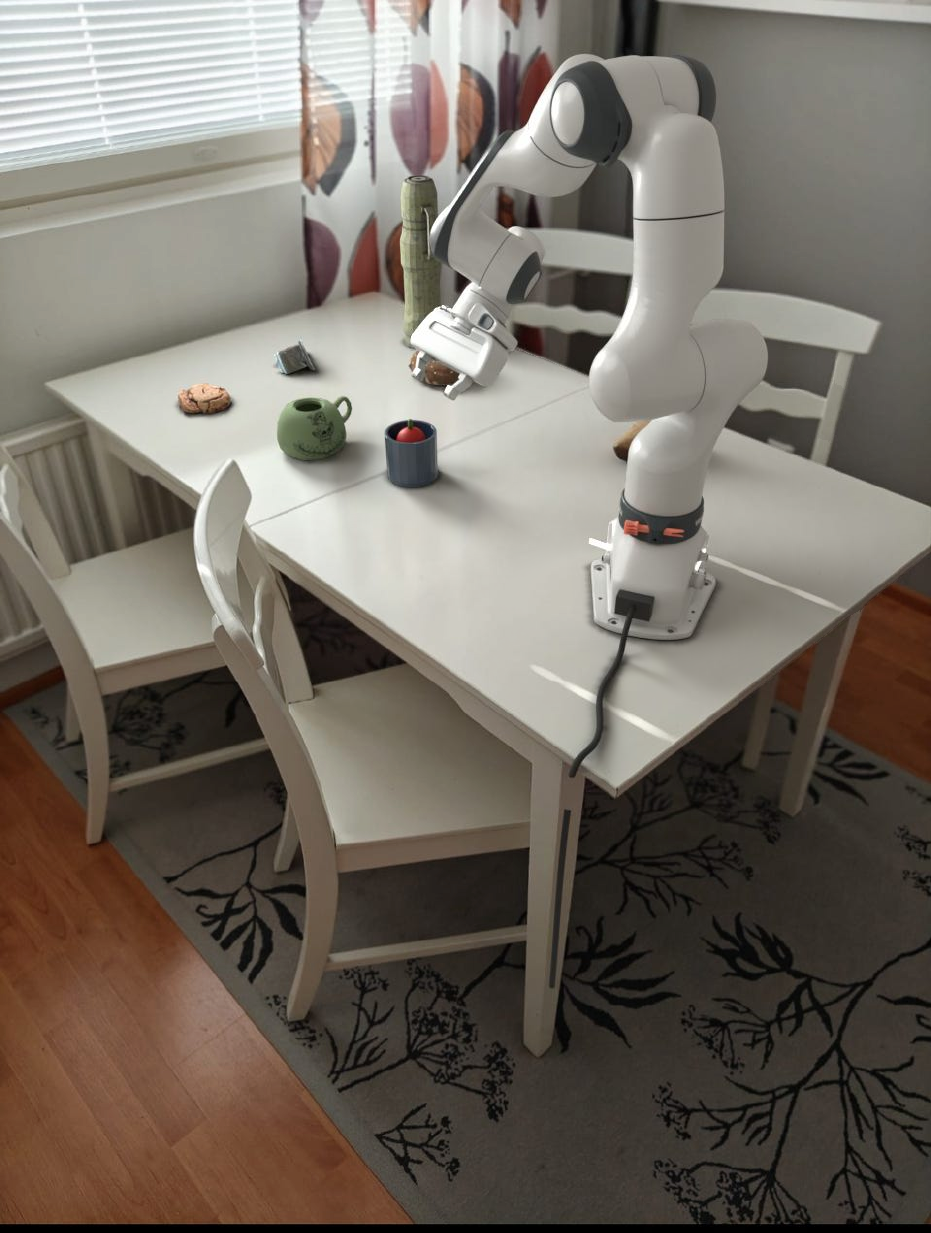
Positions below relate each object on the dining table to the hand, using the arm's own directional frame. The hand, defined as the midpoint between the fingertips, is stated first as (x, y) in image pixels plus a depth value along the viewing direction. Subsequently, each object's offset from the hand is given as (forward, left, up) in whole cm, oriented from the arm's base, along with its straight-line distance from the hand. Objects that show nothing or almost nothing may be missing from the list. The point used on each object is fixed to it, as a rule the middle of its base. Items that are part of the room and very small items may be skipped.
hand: (431, 388), depth 170 cm
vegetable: (+13, -38, -15) cm, 43 cm away
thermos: (+55, +18, -15) cm, 60 cm away
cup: (-4, +3, -15) cm, 16 cm away
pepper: (-4, +3, -15) cm, 15 cm away
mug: (+3, +23, -15) cm, 28 cm away
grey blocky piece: (+36, +42, -15) cm, 57 cm away
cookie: (+14, +52, -15) cm, 56 cm away
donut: (+38, +9, -15) cm, 42 cm away
